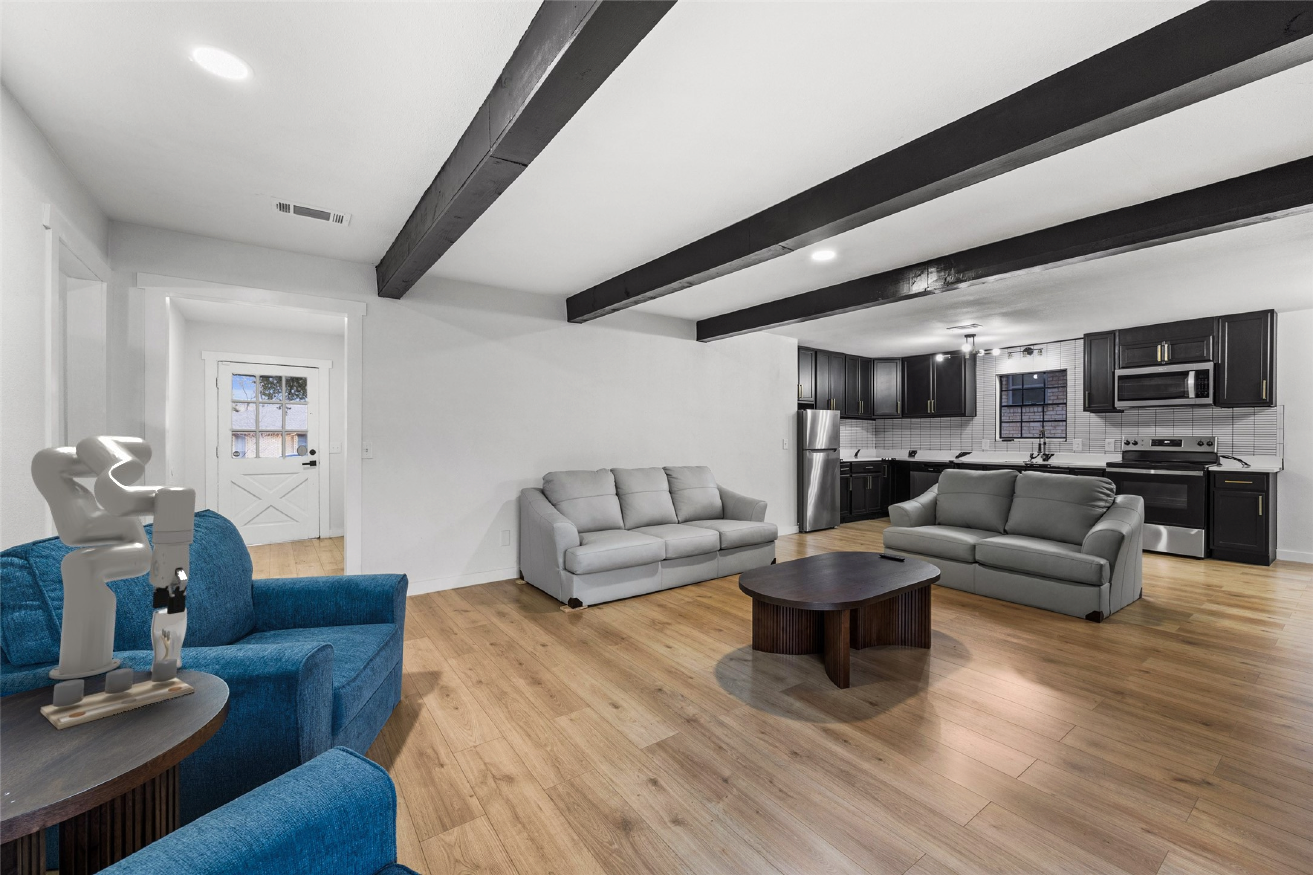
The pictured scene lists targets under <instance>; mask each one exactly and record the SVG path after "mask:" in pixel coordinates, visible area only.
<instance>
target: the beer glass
mask: <svg viewBox="0 0 1313 875" xmlns="http://www.w3.org/2000/svg"><path fill="white" fill-rule="evenodd" d="M187 613H188V610H187V607H185V611H184V612H181V613H175V614H167V607H164V608H159V609H158V610H154V611H153V614H152V620H151V630H150V635H151V644H152V649H153V650H152V651H153V661H152V665H151V667H150V672H151V673H152V667H153V663H154V662H156V661H159V660H163V659H171V658H174V659H177V670H178V669H180V668H181V667H182V666H183V663H182V662H183V661H182V657H181V654H182V647H183V642H184V639H185V637H186V632H187V624H188V623H187V622H188V620H187V619H188V616H187V615H188V614H187Z"/></svg>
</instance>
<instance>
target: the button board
mask: <svg viewBox="0 0 1313 875" xmlns="http://www.w3.org/2000/svg"><path fill="white" fill-rule="evenodd" d="M192 691H194V692H195V688H194V687H193V686H191V685H190V684H188V683H186V682H185V681H183V680H181V679H179V678H177V677H176V678H174V679H172V680H168V681H164V682H152V679H151V680H147V681H143V682H142V681H141V682H139V683H135V684H132V688H131V689H130V690H127V691H124V692H121V693H115V694H106V693H105V691H102V692H98V693H93V694H89V695H86V696H83V700H82V701H81V702H79V703H76V704H73V705H69V706H63V707H54V706H53V703H52V704H49V705H45V706H44V705H43V706H41V707H40V713H41V714H42V716H44V717H45V718H46V719H47V720H48V721H49V722H50V723H51V724H52V725H53V726H54V727H55V728H56V729H57V731H59V730H63V729H67V728H70V727H74V726H78V725H82V724H85V723H88V722H92V721H96V720H100V719H103V717H104V718H107V717H110V716H114V715H113V714H115V715H117V713H118V714H122V713H124V712H123V711H126V712H128V710H129V711H132V709H133V710H135V709H134V708H137V709H139V708H138V707H140V708H142V707H141V706H143V705H146V704H150V703H153V702H156V701H161V700H163V699H167V698H172V697H174V696H178V695H181V694H185V693H189V692H192ZM121 712H122V713H121Z"/></svg>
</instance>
